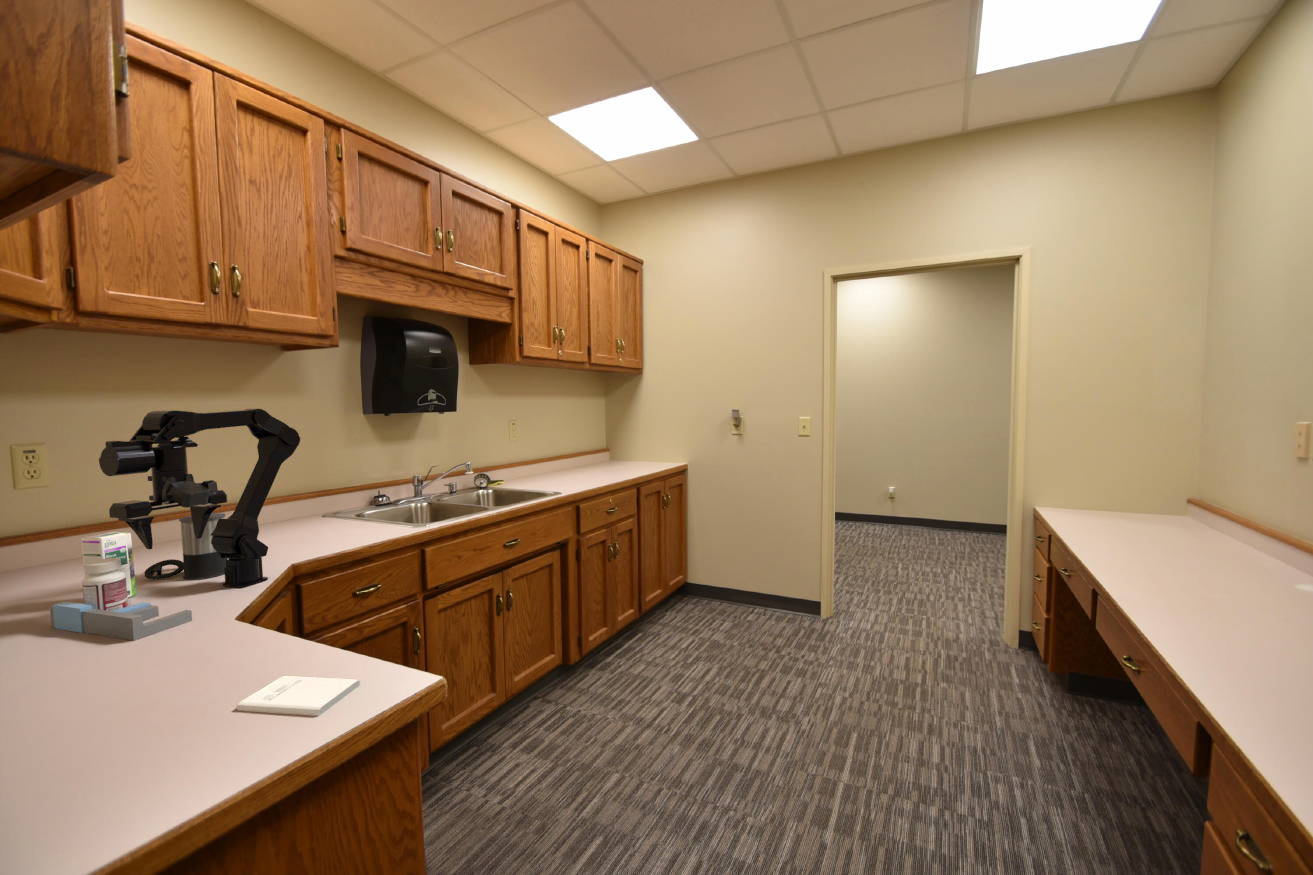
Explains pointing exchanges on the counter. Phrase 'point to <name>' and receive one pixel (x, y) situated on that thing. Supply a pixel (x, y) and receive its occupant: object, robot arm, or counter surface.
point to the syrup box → (112, 553)
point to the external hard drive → (299, 695)
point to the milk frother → (193, 554)
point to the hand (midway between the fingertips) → (175, 543)
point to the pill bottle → (105, 585)
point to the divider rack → (114, 620)
